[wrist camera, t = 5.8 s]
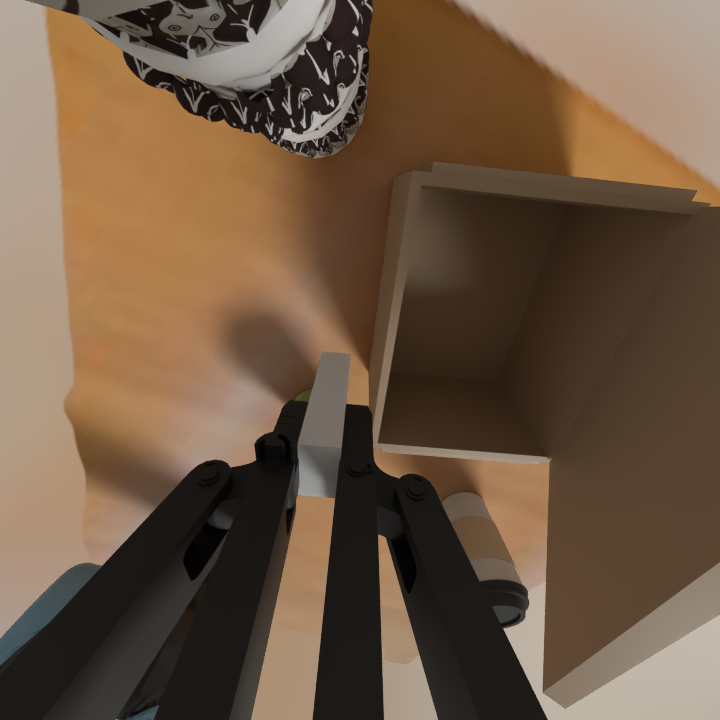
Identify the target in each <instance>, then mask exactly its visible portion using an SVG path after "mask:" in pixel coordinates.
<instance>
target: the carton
mask: <svg viewBox="0 0 720 720" xmlns="http://www.w3.org/2000/svg"><path fill="white" fill-rule="evenodd" d="M696 192H697V190H688V189H679V188H670V187H661V186H652V185H644V184H635V183H626V182H617V181H608V180H599V179H590V178H581V177H572V176H563V175H555V174H546V173H537V172H528V171H519V170H510V169H501V168H492V167H483V166H475V165H466V164H457V163H448V162H439V161H432V162H430V163H427V164H425V165H423V166H420V167H418V168H415V169H414V170H412V171H409V172H407V173H405V174H402V175H400V176H397V177H395V178H393V186H392V194H391V201H390V209H389V217H388V225H387V233H386V240H385V248H384V256H383V264H382V271H381V279H380V287H379V295H378V303H377V310H376V318H375V326H374V334H373V342H372V349H371V357H370V365H369V409H370V411H371V412H372V424H373V448H378V449H380V451H381V452H387V453H399V454H412V455H424V456H437V457H449V458H462V459H475V460H487V461H500V462H512V463H525V464H537V465H539V463H540V462H550V460H551V459H552V457H553V455H554V454H555V452H556V450H557V449H558V447H559V445H560V444H561V442H562V440H563V439H564V437H565V436H566V434H567V432H568V431H569V429H570V427H571V426H572V424H573V422H574V421H575V419H576V417H577V416H578V414H579V412H580V411H581V409H582V407H583V406H584V404H585V402H586V401H587V399H588V397H589V396H590V394H591V392H592V391H593V389H594V387H595V386H596V384H597V382H598V381H599V379H600V377H601V376H602V374H603V372H604V371H605V369H606V368H607V366H608V364H609V363H610V361H611V359H612V358H613V356H614V354H615V353H616V351H617V349H618V348H619V346H620V344H621V343H622V341H623V339H624V338H625V336H626V334H627V333H628V331H629V329H630V328H631V326H632V324H633V323H634V321H635V319H636V318H637V316H638V314H639V313H640V311H641V309H642V308H643V306H644V305H645V303H646V301H647V300H648V298H649V296H650V295H651V293H652V291H653V290H654V288H655V286H656V285H657V283H658V281H659V280H660V278H661V276H662V275H663V273H664V271H665V270H666V268H667V266H668V265H669V263H670V261H671V260H672V258H673V256H674V255H675V253H676V251H677V250H678V248H679V246H680V245H681V243H682V241H683V240H684V238H685V237H686V235H687V233H688V232H689V230H690V228H691V227H692V225H693V223H694V222H695V220H696V218H697V217H698V215H699V213H700V212H701V210H702V208H703V207H709V206H710V205H711V203H703V202H694V201H692V199H693V198H694V196H695V194H696Z"/></svg>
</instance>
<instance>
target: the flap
mask: <svg viewBox="0 0 720 720" xmlns="http://www.w3.org/2000/svg"><path fill="white" fill-rule="evenodd" d="M718 615H720V207H703V208H702V210H701V212H700V213H699V215H698V217H697V218H696V220H695V222H694V223H693V225H692V227H691V228H690V230H689V232H688V233H687V235H686V237H685V238H684V240H683V241H682V243H681V245H680V246H679V248H678V250H677V251H676V253H675V255H674V256H673V258H672V260H671V261H670V263H669V265H668V266H667V268H666V270H665V271H664V273H663V275H662V276H661V278H660V280H659V281H658V283H657V285H656V286H655V288H654V290H653V291H652V293H651V295H650V296H649V298H648V300H647V301H646V303H645V305H644V306H643V308H642V309H641V311H640V313H639V314H638V316H637V318H636V319H635V321H634V323H633V324H632V326H631V328H630V329H629V331H628V333H627V334H626V336H625V338H624V339H623V341H622V343H621V344H620V346H619V348H618V349H617V351H616V353H615V354H614V356H613V358H612V359H611V361H610V363H609V364H608V366H607V368H606V369H605V371H604V372H603V374H602V376H601V377H600V379H599V381H598V382H597V384H596V386H595V387H594V389H593V391H592V392H591V394H590V396H589V397H588V399H587V401H586V402H585V404H584V406H583V407H582V409H581V411H580V412H579V414H578V416H577V417H576V419H575V421H574V422H573V424H572V426H571V427H570V429H569V431H568V432H567V434H566V436H565V437H564V439H563V440H562V442H561V444H560V445H559V447H558V449H557V450H556V452H555V454H554V455H553V457H552V459H551V460H550V470H549V502H548V535H547V567H546V602H545V633H544V635H545V636H544V666H543V693H544V694H545V695H547V696H548V697H550V698H551V699H552V700H554V701H555V702H557V703H558V704H560V705H561V706H562V707H564V708H567V707H569V706H570V705H572V704H574V703H575V702H577V701H579V700H580V699H582V698H584V697H585V696H587V695H589V694H590V693H592V692H593V691H595V690H597V689H598V688H600V687H602V686H603V685H605V684H607V683H608V682H610V681H611V680H613V679H615V678H616V677H618V676H620V675H621V674H623V673H625V672H626V671H628V670H630V669H631V668H633V667H634V666H636V665H638V664H639V663H641V662H643V661H644V660H646V659H648V658H649V657H651V656H652V655H654V654H655V653H657V652H659V651H660V650H662V649H664V648H665V647H667V646H669V645H670V644H672V643H674V642H675V641H677V640H679V639H680V638H682V637H684V636H685V635H687V634H689V633H690V632H692V631H693V630H695V629H697V628H698V627H700V626H702V625H703V624H705V623H707V622H708V621H710V620H712V619H713V618H715V617H716V616H718Z"/></svg>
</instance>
